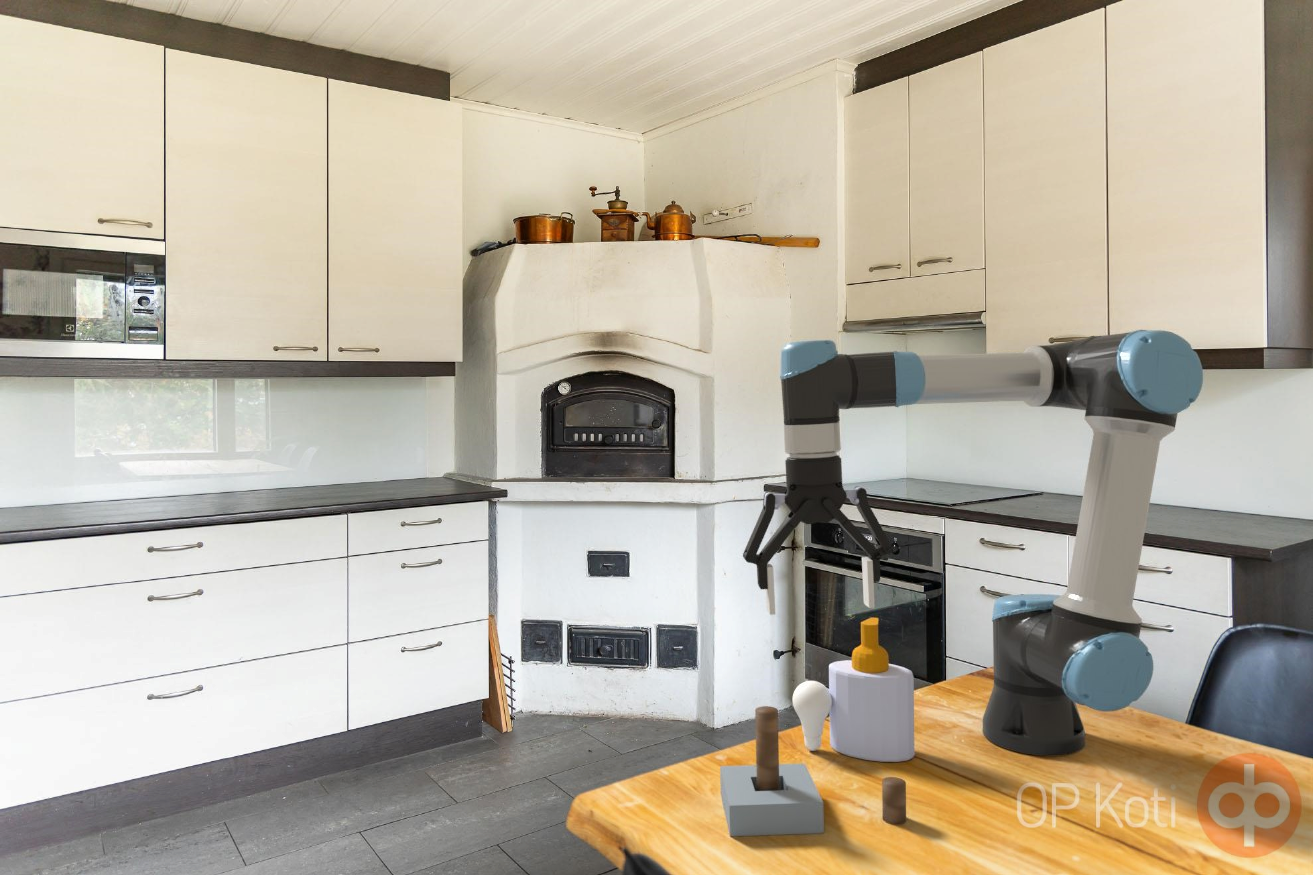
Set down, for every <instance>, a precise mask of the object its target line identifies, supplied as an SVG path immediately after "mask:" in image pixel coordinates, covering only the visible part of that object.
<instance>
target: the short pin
mask: <svg viewBox="0 0 1313 875" xmlns="http://www.w3.org/2000/svg"><path fill="white" fill-rule="evenodd" d="M881 782H882V783H881V792H882V793H881V794H882V795H881V797H882V800H881V801H882V802H881V803H882V810H881V811H882V820H883V821H884V822H885V823H887V824H890V825H894V826H896V825H897V826H899V825H903V824H905V823H906V822H907V785H906V784H907V782H906V781H905V780H904V779H903V778H899V777H896V776H887V777H885V778H882V781H881Z"/></svg>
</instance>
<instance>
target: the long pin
mask: <svg viewBox="0 0 1313 875" xmlns="http://www.w3.org/2000/svg"><path fill="white" fill-rule="evenodd" d="M754 711H755V713H754V714H755V718H754V719H755V754H756V755H755V756H756V757H755V758H756V759H755V760H756V763H755V765H756V771H757V791H776V790H779V764H780V760H779V759H780V752H779V747H780V745H779V709H778V708H776V707H774V706H766V705H763V706H762V705H761V706H758V707H756V708H755V710H754Z"/></svg>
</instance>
